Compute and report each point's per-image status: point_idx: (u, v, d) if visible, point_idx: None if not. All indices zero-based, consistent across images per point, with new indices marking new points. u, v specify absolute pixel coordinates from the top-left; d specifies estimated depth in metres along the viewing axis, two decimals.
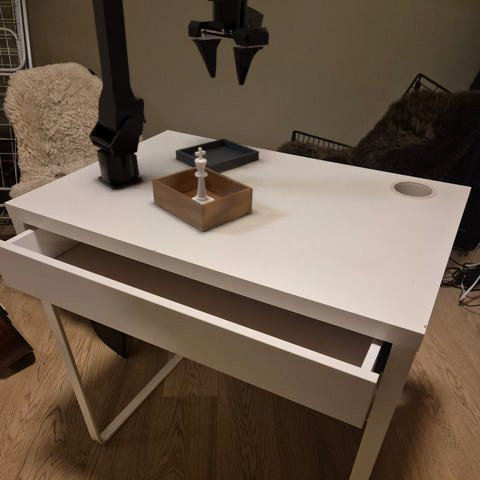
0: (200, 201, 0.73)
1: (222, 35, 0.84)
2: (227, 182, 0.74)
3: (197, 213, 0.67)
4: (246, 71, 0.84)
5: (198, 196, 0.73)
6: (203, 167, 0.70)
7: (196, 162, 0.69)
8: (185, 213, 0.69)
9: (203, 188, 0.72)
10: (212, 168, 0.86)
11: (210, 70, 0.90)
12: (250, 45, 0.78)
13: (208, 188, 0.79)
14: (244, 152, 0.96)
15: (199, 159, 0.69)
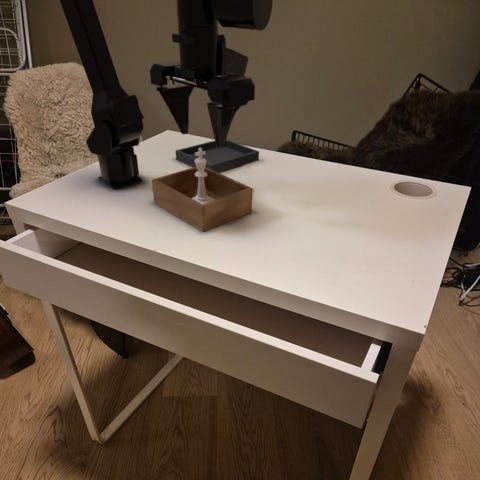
0: (200, 201, 0.73)
1: (194, 84, 0.64)
2: (227, 182, 0.74)
3: (197, 213, 0.67)
4: (226, 131, 0.64)
5: (198, 196, 0.73)
6: (203, 167, 0.70)
7: (196, 162, 0.69)
8: (185, 213, 0.69)
9: (203, 188, 0.72)
10: (212, 168, 0.86)
11: (181, 125, 0.70)
12: (229, 103, 0.58)
13: (208, 188, 0.79)
14: (244, 152, 0.96)
15: (199, 159, 0.69)
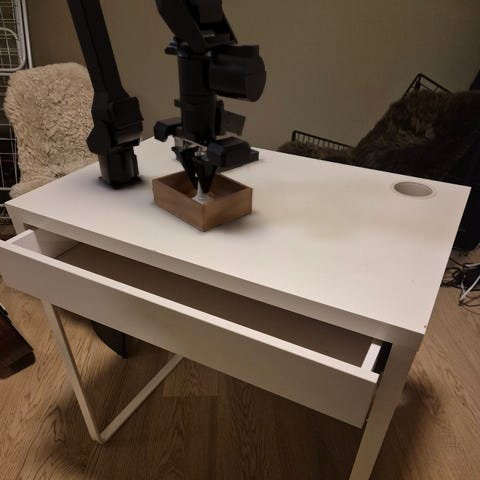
0: (200, 201, 0.73)
1: None
2: (227, 182, 0.74)
3: (197, 213, 0.67)
4: (210, 179, 0.70)
5: (198, 196, 0.73)
6: None
7: None
8: (185, 213, 0.69)
9: None
10: None
11: (194, 182, 0.72)
12: (227, 166, 0.62)
13: None
14: None
15: None
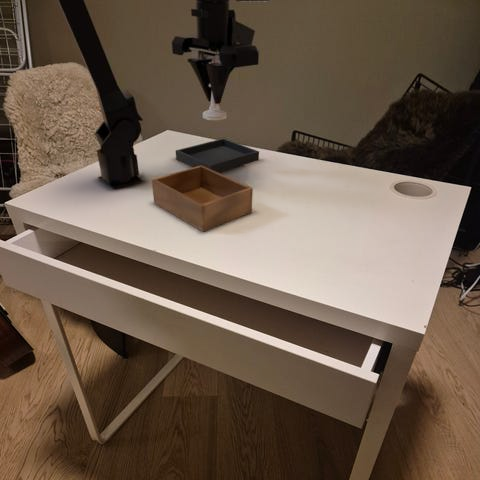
0: (213, 111, 0.81)
1: None
2: (227, 182, 0.74)
3: (197, 213, 0.67)
4: (222, 89, 0.78)
5: (211, 107, 0.81)
6: None
7: None
8: (185, 213, 0.69)
9: None
10: (212, 168, 0.86)
11: (207, 93, 0.80)
12: (237, 66, 0.70)
13: (208, 188, 0.79)
14: (244, 152, 0.96)
15: None
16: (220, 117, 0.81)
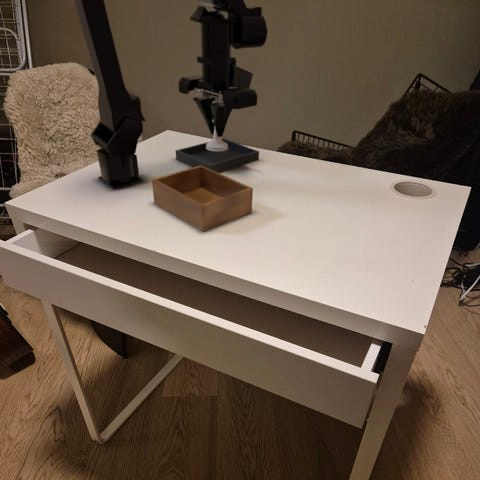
0: (215, 143, 0.90)
1: (223, 96, 0.83)
2: (227, 182, 0.74)
3: (197, 213, 0.67)
4: (224, 124, 0.88)
5: (214, 139, 0.90)
6: None
7: None
8: (185, 213, 0.69)
9: None
10: (212, 168, 0.86)
11: (211, 127, 0.89)
12: (238, 107, 0.79)
13: (208, 188, 0.79)
14: (244, 152, 0.96)
15: None
16: (222, 148, 0.90)
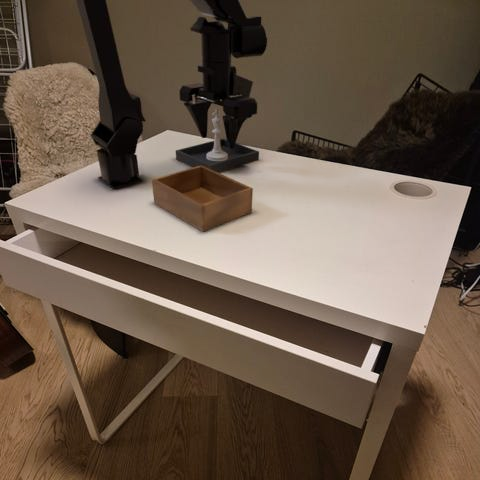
0: (216, 153, 0.92)
1: (212, 101, 0.86)
2: (227, 182, 0.74)
3: (197, 213, 0.67)
4: (236, 136, 0.87)
5: (214, 149, 0.92)
6: (218, 125, 0.88)
7: (213, 120, 0.88)
8: (185, 213, 0.69)
9: (218, 143, 0.91)
10: (212, 168, 0.86)
11: (201, 131, 0.92)
12: (239, 116, 0.80)
13: (208, 188, 0.79)
14: (244, 152, 0.96)
15: (215, 118, 0.88)
16: (222, 158, 0.92)
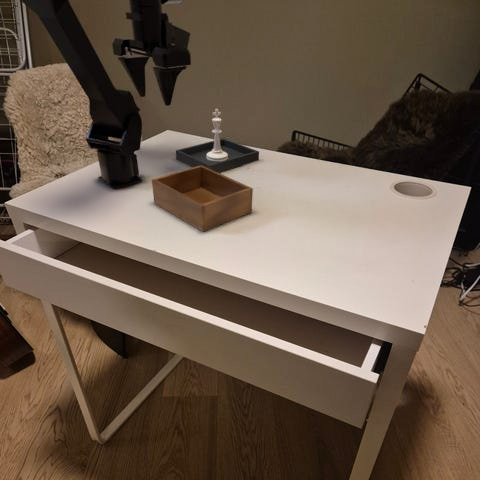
0: (216, 153, 0.92)
1: (146, 54, 0.80)
2: (227, 182, 0.74)
3: (197, 213, 0.67)
4: (171, 91, 0.81)
5: (214, 149, 0.92)
6: (218, 125, 0.88)
7: (213, 120, 0.88)
8: (185, 213, 0.69)
9: (218, 143, 0.91)
10: (212, 168, 0.86)
11: (138, 89, 0.86)
12: (168, 66, 0.74)
13: (208, 188, 0.79)
14: (244, 152, 0.96)
15: (215, 118, 0.88)
16: (222, 158, 0.92)
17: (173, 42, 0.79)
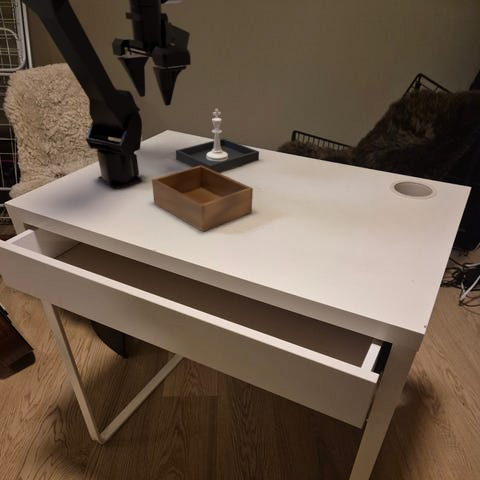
0: (216, 153, 0.92)
1: (145, 54, 0.80)
2: (227, 182, 0.74)
3: (197, 213, 0.67)
4: (171, 91, 0.81)
5: (214, 149, 0.92)
6: (218, 125, 0.88)
7: (213, 120, 0.88)
8: (185, 213, 0.69)
9: (218, 143, 0.91)
10: (212, 168, 0.86)
11: (138, 89, 0.86)
12: (168, 66, 0.74)
13: (208, 188, 0.79)
14: (244, 152, 0.96)
15: (215, 118, 0.88)
16: (222, 158, 0.92)
17: (173, 42, 0.79)
